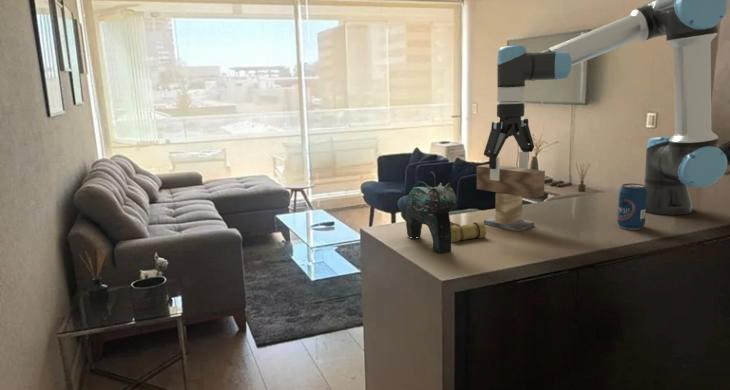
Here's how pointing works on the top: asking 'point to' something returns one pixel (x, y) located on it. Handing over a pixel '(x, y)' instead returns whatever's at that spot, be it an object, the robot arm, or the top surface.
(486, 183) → the walnut beam
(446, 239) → the ceramic cat
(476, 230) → the gavel
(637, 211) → the soda can
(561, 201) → the top surface
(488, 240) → the top surface
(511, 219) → the fulcrum
